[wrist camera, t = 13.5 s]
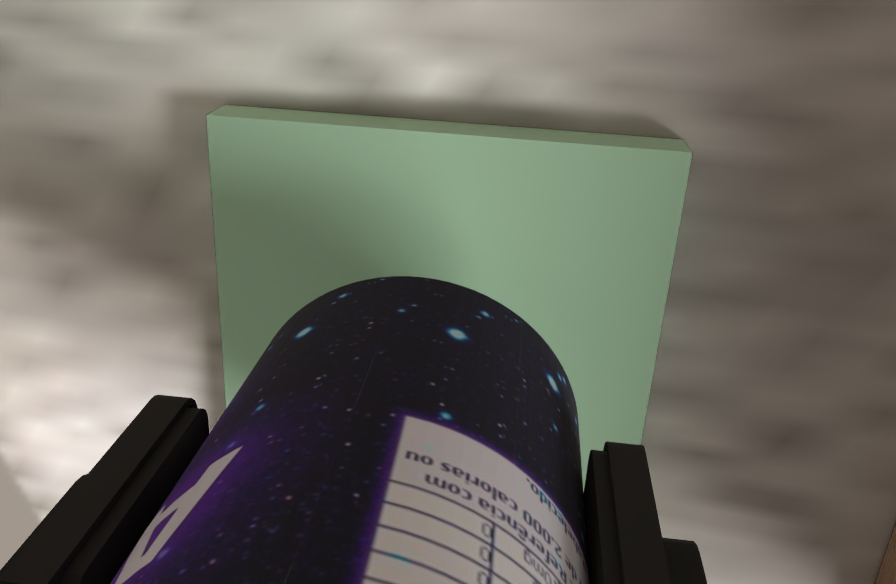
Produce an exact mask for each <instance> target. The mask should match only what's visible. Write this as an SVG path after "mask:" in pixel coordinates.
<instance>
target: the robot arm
mask: <svg viewBox="0 0 896 584" xmlns="http://www.w3.org/2000/svg"><path fill="white" fill-rule="evenodd" d="M208 435H209V425H208V416H207V412H206V410H204V409H199V408H197V404H196V402H195V400H194V399H192V398H184V397H174V396H164V395H155V396H154V397H153V398H152V399H151V400H150V401H149V402H148V403H147V404H146V406H145V407H144V408H143V409H142V410H141V412H140V413H139V414H138V415H137V416H136V418H135V419H134V420H133V421H132V422H131V423H130V425H129V426H128V427H127V428H126V429H125V431H124V432H123V433H122V434H121V435H120V437H119V438H118V439H117V440H116V441H115V443H114V444H113V445H112V446H111V447H110V449H109V450H108V451H107V452H106V453H105V455H104V456H103V457H102V458H101V459H100V460H99V462H98V463H97V464H96V465H95V466H94V468H93V469H92V470H91V471H90V472H89V474H86V475H83V476H82V477H80V478H79V479H78V480H77V481H76V482H75V483H74V484H73V485H72V487H71V488H70V489H69V490H68V491H67V492H66V494H65V495H64V496H63V497H62V498H61V499H60V501H59V502H58V503H57V504H56V505H55V507H54V508H53V509H52V510H51V511H50V512H49V514H48V515H47V516H46V517H45V518H44V520H43V521H42V522H41V523H40V524H39V525H38V527H37V528H36V529H35V530H34V531H33V532H32V534H31V535H30V536H29V537H28V538H27V540H26V541H25V542H24V543H23V544H22V545H21V547H20V548H19V549H18V550H17V551H16V553H15V554H14V555H13V556H12V557H11V558H10V560H9V561H8V562H7V563H6V564H5V566H4V567H3V568H2V569H1V570H0V584H110V583H111V581H112V580H113V578H114V577H115V575H116V574H117V572H118V571H119V569H120V568H121V566H122V565H123V563H124V562H125V560H126V559H127V557H128V556H129V554H130V553H131V551H132V550H133V548H134V547H135V545H136V544H137V542H138V541H139V539H140V538H141V536H142V535H143V533H144V532H145V530H146V529H147V527H148V526H149V524H150V523H151V521H152V520H153V518H154V517H155V515H156V514H157V512H158V511H159V509H160V508H161V506H162V505H163V503H164V502H165V500H166V499H167V497H168V496H169V494H170V493H171V491H172V490H173V488H174V487H175V485H176V484H177V482H178V481H179V479H180V478H181V476H182V475H183V473H184V472H185V470H186V469H187V467H188V466H189V464H190V463H191V461H192V460H193V458H194V457H195V455H196V454H197V452H198V451H199V449H200V448H201V446H202V445H203V443H204V442H205V440H206V439H207V437H208ZM583 494H584V509H585V523H586V537H587V551H588V565H589V579H590V584H707V581H706V577H705V573H704V569H703V565H702V561H701V557H700V553H699V550H698V547H697V545H696V543H695V542H694V541H687V540H678V539H669V538H662V535H661V530H660V525H659V519H658V514H657V509H656V504H655V499H654V494H653V489H652V483H651V478H650V473H649V468H648V463H647V458H646V453H645V448H644V446H643V445H636V444H627V443H617V442H608V441H606V442H605V444H604V448H603V451H600V450H591V451H590V454H589V459H588V466H587V473H586V480H585V487H584V493H583Z"/></svg>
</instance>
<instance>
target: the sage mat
mask: <svg viewBox="0 0 896 584" xmlns="http://www.w3.org/2000/svg"><path fill="white" fill-rule="evenodd" d="M206 121H207V136H208V151H209V165H210V180H211V195H212V209H213V224H214V239H215V253H216V268H217V283H218V297H219V312H220V327H221V342H222V356H223V371H224V386H225V400H226V408H227V407H228V405H229V404H230V402H231V401H232V399H233V398H234V396H235V395H236V393H237V392H238V390H239V389H240V387H241V386H242V384H243V383H244V381H245V380H246V378H247V377H248V375H249V374H250V372H251V371H252V369H253V368H254V366H255V365H256V363H257V362H258V360H259V359H260V357H261V356H262V354H263V353H264V351H265V350H266V348H267V347H268V345H269V344H270V342H271V341H272V339H273V338H274V336H275V335H276V334H277V332H278V331H279V330H280V328H281V327H282V326H283V325H284V324H285V323H286V322H287V321H288V320H289V319H290V318H291V317H292V316H293V315H294V314H295V313H296V312H297V311H299V310H300V309H301V308H303V307H304V306H305V305H307V304H308V303H310V302H311V301H313V300H315V299H316V298H318V297H320V296H322V295H324V294H325V293H327V292H329V291H332V290H334V289H337V288H339V287H342V286H345V285H348V284H351V283H354V282H358V281H362V280H367V279H373V278H379V277H391V276H412V277H424V278H431V279H437V280H442V281H447V282H451V283H454V284H458V285H461V286H464V287H467V288H469V289H472V290H475V291H477V292H479V293H482V294H484V295H486V296H488V297H490V298H492V299H494V300H495V301H497V302H499V303H501V304H502V305H504V306H506V307H507V308H509V309H510V310H512V311H513V312H514V313H516V314H517V315H518V316H520V317H521V318H522V319H523V320H525V321H526V322H527V323H528V324H529V325H530V326H531V327H532V328H533V329H534V330H535V331H536V332H537V333H538V334H539V335H540V336H541V337H542V338H543V339H544V340H545V342H546V343H547V344H548V345H549V346H550V348H551V349H552V351H553V352H554V354H555V355H556V356H557V358H558V360H559V362H560V363H561V365H562V367H563V369H564V371H565V373H566V375H567V377H568V379H569V382H570V385H571V387H572V390H573V394H574V397H575V401H576V406H577V412H578V423H579V437H580V451H581V465H582V479H583V493H584V487H585V480H586V473H587V466H588V459H589V454H590V451H591V450H600V451H603V448H604V444H605V442H606V441H608V442H617V443H627V444H636V445H641V440H642V435H643V429H644V423H645V418H646V412H647V406H648V401H649V395H650V390H651V384H652V378H653V373H654V367H655V361H656V356H657V350H658V344H659V339H660V333H661V328H662V322H663V316H664V311H665V305H666V299H667V294H668V288H669V283H670V277H671V271H672V266H673V260H674V254H675V249H676V243H677V237H678V232H679V226H680V221H681V215H682V209H683V204H684V198H685V192H686V187H687V181H688V175H689V170H690V164H691V159H692V153H693V152H692V151H691V149H690V148H689V146H688V145H687V143H686V142H685V140H683V139H669V138H656V137H643V136H630V135H617V134H604V133H590V132H577V131H564V130H551V129H538V128H525V127H512V126H498V125H485V124H472V123H459V122H446V121H433V120H420V119H406V118H393V117H380V116H367V115H354V114H341V113H327V112H314V111H301V110H288V109H275V108H262V107H249V106H235V105H224V106H222V107H220V108H218V109H216V110H214V111H212V112H211V113H209V114H207V115H206Z"/></svg>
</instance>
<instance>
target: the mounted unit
mask: <svg viewBox="0 0 896 584" xmlns="http://www.w3.org/2000/svg"><path fill="white" fill-rule="evenodd" d="M875 584H896V524H895V527H894V530H893V533H892V535H891V538H890V541H889V544H888V547H887V550H886V553H885V556H884V559H883V561H882V564H881V567H880V570H879V573H878V576H877V579H876V582H875Z"/></svg>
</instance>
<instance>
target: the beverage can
mask: <svg viewBox="0 0 896 584" xmlns="http://www.w3.org/2000/svg"><path fill="white" fill-rule="evenodd" d="M110 584H590V579H589V565H588V551H587V537H586V523H585V509H584V494H583V479H582V465H581V451H580V437H579V423H578V412H577V406H576V401H575V397H574V394H573V390H572V387H571V385H570V382H569V379H568V377H567V375H566V373H565V371H564V369H563V367H562V365H561V363H560V362H559V360H558V358H557V356H556V355H555V354H554V352H553V351H552V349H551V348H550V346H549V345H548V344H547V343H546V342H545V340H544V339H543V338H542V337H541V336H540V335H539V334H538V333H537V332H536V331H535V330H534V329H533V328H532V327H531V326H530V325H529V324H528V323H527V322H526V321H525V320H523V319H522V318H521V317H520V316H518V315H517V314H516V313H514V312H513V311H512V310H510V309H509V308H507V307H506V306H504V305H502V304H501V303H499V302H497V301H495V300H494V299H492V298H490V297H488V296H486V295H484V294H482V293H479V292H477V291H475V290H472V289H469V288H467V287H464V286H461V285H458V284H454V283H451V282H447V281H442V280H437V279H431V278H424V277H412V276H391V277H379V278H373V279H367V280H362V281H358V282H354V283H351V284H348V285H345V286H342V287H339V288H337V289H334V290H332V291H329V292H327V293H325V294H324V295H322V296H320V297H318V298H316V299H315V300H313V301H311V302H310V303H308V304H307V305H305V306H304V307H303V308H301V309H300V310H299V311H297V312H296V313H295V314H294V315H293V316H292V317H291V318H290V319H289V320H288V321H287V322H286V323H285V324H284V325H283V326H282V327H281V328H280V330H279V331H278V332H277V334H276V335H275V336H274V338H273V339H272V341H271V342H270V344H269V345H268V347H267V348H266V350H265V351H264V353H263V354H262V356H261V357H260V359H259V360H258V362H257V363H256V365H255V366H254V368H253V369H252V371H251V372H250V374H249V375H248V377H247V378H246V380H245V381H244V383H243V384H242V386H241V387H240V389H239V390H238V392H237V393H236V395H235V396H234V398H233V399H232V401H231V402H230V404H229V405H228V407H227V408H226V410H225V411H224V413H223V414H222V416H221V417H220V419H219V420H218V422H217V423H216V425H215V426H214V428H213V429H212V431H211V432H210V434H209V435H208V437H207V439H206V440H205V442H204V443H203V445H202V446H201V448H200V449H199V451H198V452H197V454H196V455H195V457H194V458H193V460H192V461H191V463H190V464H189V466H188V467H187V469H186V470H185V472H184V473H183V475H182V476H181V478H180V479H179V481H178V482H177V484H176V485H175V487H174V488H173V490H172V491H171V493H170V494H169V496H168V497H167V499H166V500H165V502H164V503H163V505H162V506H161V508H160V509H159V511H158V512H157V514H156V515H155V517H154V518H153V520H152V521H151V523H150V524H149V526H148V527H147V529H146V530H145V532H144V533H143V535H142V536H141V538H140V539H139V541H138V542H137V544H136V545H135V547H134V548H133V550H132V551H131V553H130V554H129V556H128V557H127V559H126V560H125V562H124V563H123V565H122V566H121V568H120V569H119V571H118V572H117V574H116V575H115V577H114V578H113V580H112V581H111V583H110Z"/></svg>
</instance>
